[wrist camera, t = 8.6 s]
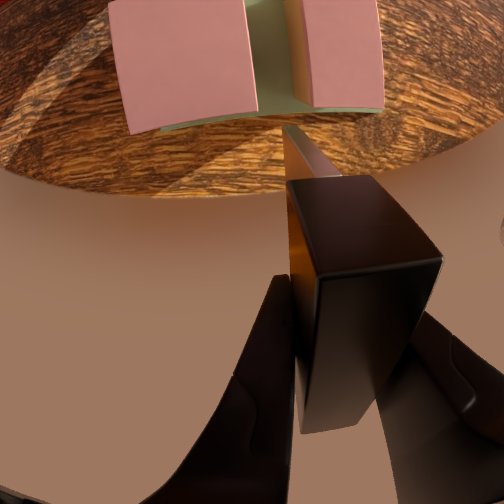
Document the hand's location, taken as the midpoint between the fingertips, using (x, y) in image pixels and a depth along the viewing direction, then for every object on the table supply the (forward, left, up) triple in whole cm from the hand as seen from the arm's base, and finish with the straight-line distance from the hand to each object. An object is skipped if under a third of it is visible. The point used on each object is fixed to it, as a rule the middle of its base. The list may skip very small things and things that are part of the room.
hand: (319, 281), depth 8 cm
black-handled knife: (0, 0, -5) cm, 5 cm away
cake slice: (+2, -7, -9) cm, 11 cm away
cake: (+7, -4, -9) cm, 12 cm away
